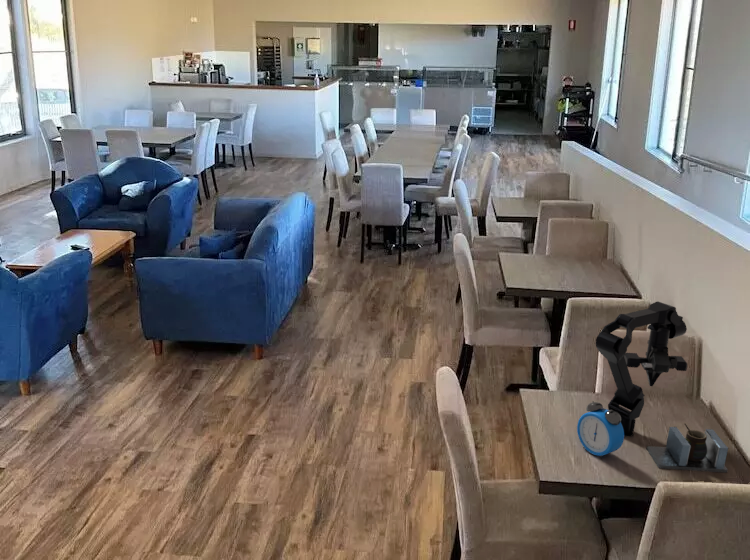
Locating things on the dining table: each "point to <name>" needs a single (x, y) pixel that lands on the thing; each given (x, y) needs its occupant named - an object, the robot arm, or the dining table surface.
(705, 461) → the vise bed
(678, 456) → the free jaw
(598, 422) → the alarm clock
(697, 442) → the mate gourd
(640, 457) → the dining table surface
